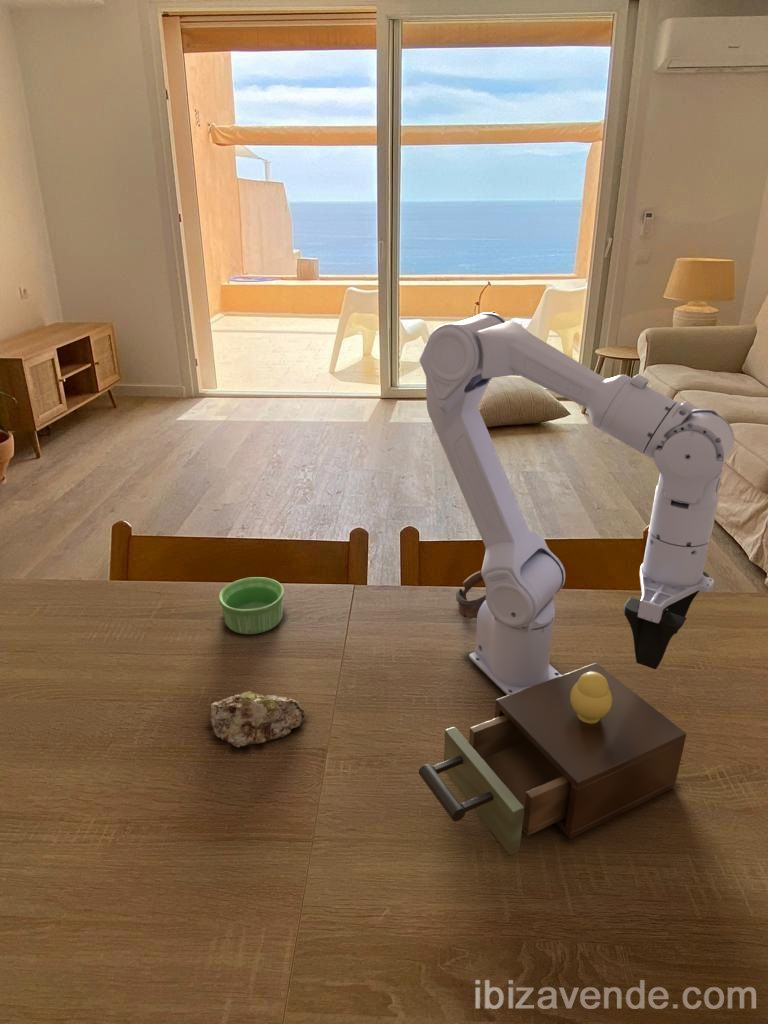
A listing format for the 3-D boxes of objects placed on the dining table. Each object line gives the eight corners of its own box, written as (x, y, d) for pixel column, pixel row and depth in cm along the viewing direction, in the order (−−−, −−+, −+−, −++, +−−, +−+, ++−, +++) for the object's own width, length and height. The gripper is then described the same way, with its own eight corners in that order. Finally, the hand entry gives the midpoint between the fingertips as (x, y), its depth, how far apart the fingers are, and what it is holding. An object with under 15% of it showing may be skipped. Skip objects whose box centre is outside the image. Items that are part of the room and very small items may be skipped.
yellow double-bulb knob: (586, 735, 67) (592, 693, 65) (559, 710, 70) (564, 669, 68) (617, 722, 69) (625, 680, 67) (590, 698, 72) (595, 658, 70)
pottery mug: (526, 647, 93) (498, 603, 90) (467, 653, 99) (439, 611, 95) (547, 586, 101) (522, 544, 98) (492, 595, 107) (466, 555, 104)
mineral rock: (200, 738, 74) (212, 675, 80) (205, 759, 77) (217, 697, 83) (302, 737, 74) (306, 675, 80) (303, 759, 77) (307, 697, 83)
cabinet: (569, 839, 65) (577, 782, 62) (491, 751, 75) (495, 699, 72) (674, 787, 70) (687, 733, 67) (588, 712, 80) (596, 662, 78)
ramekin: (263, 595, 104) (260, 570, 103) (298, 620, 98) (296, 593, 96) (210, 618, 99) (206, 592, 97) (244, 645, 93) (241, 618, 91)
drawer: (466, 875, 60) (469, 832, 58) (404, 785, 70) (404, 744, 67) (614, 804, 67) (622, 762, 65) (540, 730, 77) (544, 692, 74)
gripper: (704, 575, 62) (678, 696, 67) (737, 518, 72) (712, 627, 78) (624, 553, 65) (606, 670, 71) (667, 502, 76) (648, 607, 82)
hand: (657, 646), depth 75 cm, fingers open, 7 cm apart
